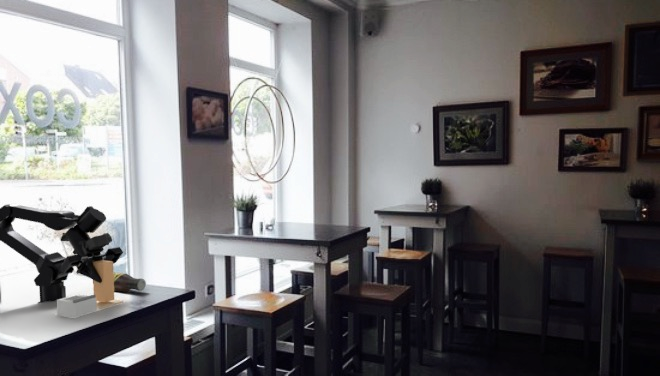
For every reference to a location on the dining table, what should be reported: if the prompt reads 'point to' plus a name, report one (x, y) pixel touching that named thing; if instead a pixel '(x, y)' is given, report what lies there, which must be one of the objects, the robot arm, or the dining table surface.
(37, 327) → the dining table surface
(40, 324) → the dining table surface
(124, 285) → the sauce bottle
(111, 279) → the tan rectangular block
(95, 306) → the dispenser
